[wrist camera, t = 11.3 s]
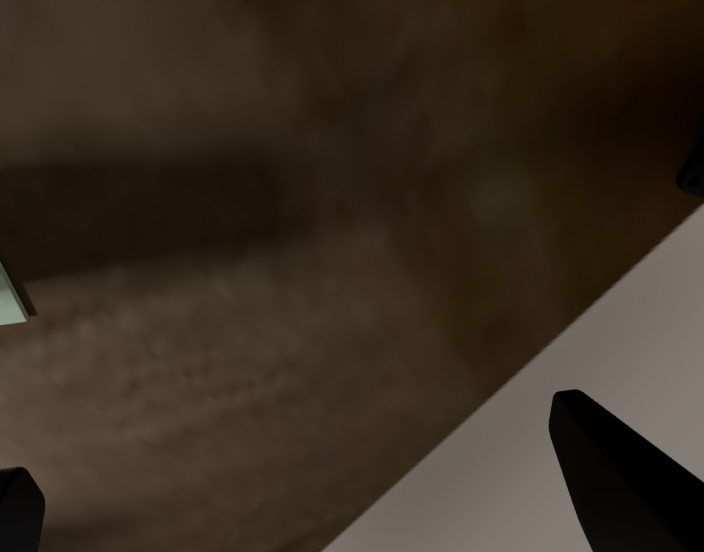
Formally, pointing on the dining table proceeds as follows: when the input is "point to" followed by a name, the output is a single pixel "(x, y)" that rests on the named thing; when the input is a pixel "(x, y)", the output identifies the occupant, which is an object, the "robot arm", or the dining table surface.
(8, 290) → the pad
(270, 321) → the dining table surface
